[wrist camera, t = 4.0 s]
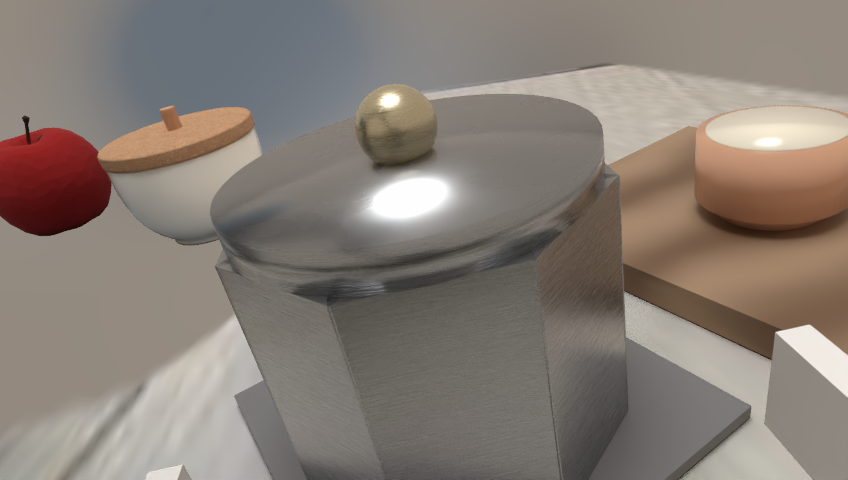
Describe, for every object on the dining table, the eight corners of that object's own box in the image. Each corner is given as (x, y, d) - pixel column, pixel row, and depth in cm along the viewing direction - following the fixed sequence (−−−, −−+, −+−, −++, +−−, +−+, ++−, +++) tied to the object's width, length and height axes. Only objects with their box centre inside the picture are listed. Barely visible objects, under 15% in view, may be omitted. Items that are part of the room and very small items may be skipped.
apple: (105, 196, 56) (56, 99, 52) (142, 209, 51) (90, 100, 46) (4, 239, 51) (-61, 134, 46) (32, 259, 45) (-39, 141, 40)
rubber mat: (238, 404, 24) (234, 395, 24) (490, 270, 30) (489, 262, 30) (390, 725, 13) (385, 716, 13) (749, 416, 19) (751, 406, 18)
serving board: (510, 237, 33) (507, 214, 32) (687, 147, 39) (688, 126, 38) (943, 439, 17) (956, 402, 16) (1126, 231, 23) (1140, 198, 22)
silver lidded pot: (296, 582, 16) (108, 211, 11) (320, 342, 26) (230, 88, 21) (681, 494, 16) (691, 80, 11) (557, 288, 26) (529, 21, 21)
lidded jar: (208, 197, 50) (165, 93, 46) (308, 194, 46) (271, 79, 41) (112, 260, 41) (49, 140, 37) (224, 264, 37) (167, 128, 33)
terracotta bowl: (666, 214, 28) (666, 137, 26) (742, 171, 31) (748, 98, 29) (799, 256, 23) (811, 164, 21) (878, 199, 26) (895, 113, 24)
